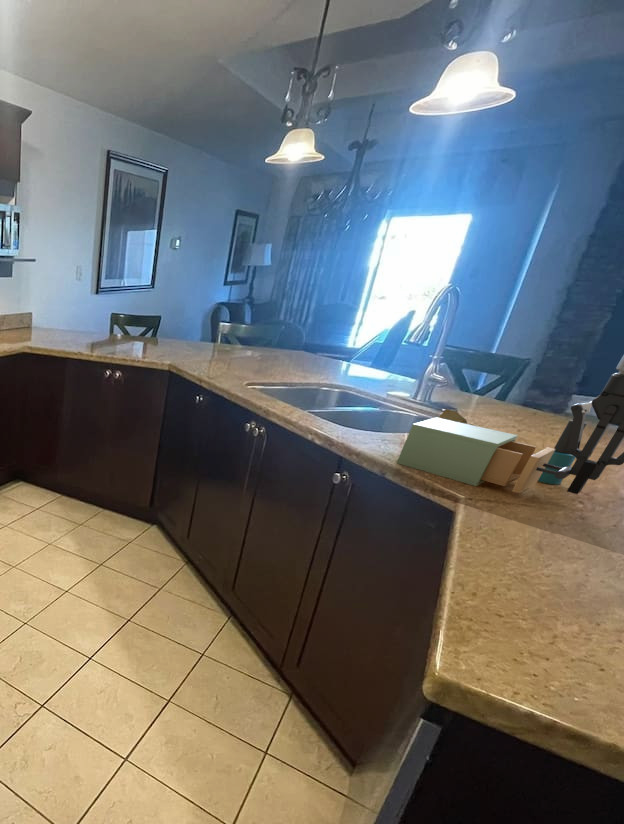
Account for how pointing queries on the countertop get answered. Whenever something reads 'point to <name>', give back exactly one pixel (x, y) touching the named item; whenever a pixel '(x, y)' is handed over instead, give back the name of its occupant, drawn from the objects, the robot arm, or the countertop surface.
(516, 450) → the drawer
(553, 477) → the dark grey teal stick
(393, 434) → the countertop surface
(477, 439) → the cabinet
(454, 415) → the rock
